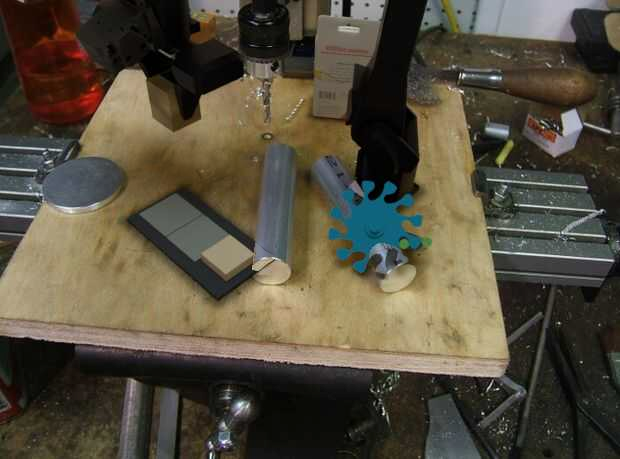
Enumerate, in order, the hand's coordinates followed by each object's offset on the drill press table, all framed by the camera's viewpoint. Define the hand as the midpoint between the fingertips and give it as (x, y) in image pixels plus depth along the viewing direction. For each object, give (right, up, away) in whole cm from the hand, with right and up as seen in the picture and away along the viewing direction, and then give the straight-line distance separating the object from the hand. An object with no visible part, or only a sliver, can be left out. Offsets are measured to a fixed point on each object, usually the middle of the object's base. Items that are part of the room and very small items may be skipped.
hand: (176, 110), depth 64 cm
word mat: (+3, -15, -2) cm, 15 cm away
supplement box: (-1, +9, +22) cm, 24 cm away
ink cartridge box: (+20, +4, +17) cm, 27 cm away
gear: (+23, -16, -2) cm, 28 cm away
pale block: (0, -1, +1) cm, 1 cm away
